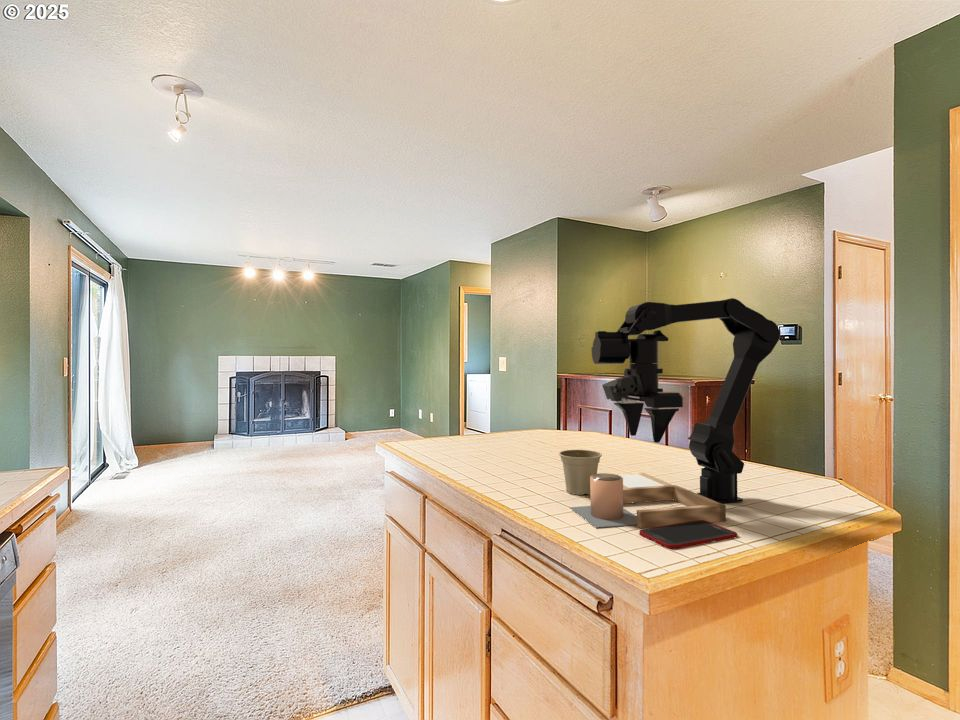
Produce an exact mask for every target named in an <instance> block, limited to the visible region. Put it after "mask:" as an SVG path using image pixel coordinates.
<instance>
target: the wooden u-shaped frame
mask: <svg viewBox="0 0 960 720" xmlns="http://www.w3.org/2000/svg"><path fill="white" fill-rule="evenodd" d="M673 499H674V500H673ZM657 500H666V501H675V500H676V502H677V501H678V503H679V502H680V503H679V504H681V503H682V504H681V505H684V506H675V507H672V506H671V507H663V508H661V507H660V508H650V509H649V508H648V509H637V510H636V516H637V525H636V527H637V528H639V529H648V528H654V527H660V526H667V525H673V524H679V523H685V522H691V521H697V520H705V521H708V522H711V523H718V522H726V521H727V509H726V508H727V507H726V505H725V504H724V503H718V502H716V501H713V500H711V499H709V498H706V497H704V496H701V495H699V494H697V492H694V491H692V490H689V489H686V488H685V487H682V486H679V485H677V484H672V485H665V486H650V487H635V488H623V503H625V504H633V503H632V502H638V503H645V502H644V501H652V502H658V501H657Z"/></svg>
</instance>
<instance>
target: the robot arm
mask: <svg viewBox="0 0 960 720" xmlns="http://www.w3.org/2000/svg"><path fill="white" fill-rule="evenodd" d="M624 316H625V317H624V321H623V323H622V324H621V325H620V327H619V328H618V329H617V330H616V331H606V330H597V331H595V333H594V338H593V341H592V347H591V358H592V362H593V363H594V364H595V365H622V364H624V363H625V362H626V360H628V362H629V363H628V365H629V368H625V369H624V371H623V374H624V375H623V376H621V377H618V378H615V379H612V380H610V381H608V382H605V383H603V384H602V388H603V392H604V394H605V398H606V399H607V400H610V401H611V402H613V405H614V406H616V407H618V408H619V409H620V410H621V411H622V413H623V416H624V420H625V422H626V425H627V428H628V432H629V435H630V436H632V437H633V436H636V435H637V432H638V429H639V425H640V421H641V419H642V418H641V416H642V413H643V409H644V410H645V412H646V413H647V414H648V415H649V417H650V421H651V431H652V439H653V442H654V443H660V442H661V440H662V439H663V436H664V434H665V433H666V430H667V429H668V426H669V424H670V422H672V419H673V417H674V416H675V414H676V413H677V412H679V411H680V408H683V407H684V397H683V396H682V394H680V392H676V391H664V389H663V388H662V387H661V388H660V387H659V374H660V375H661V374H663V371H664V370H663V368H659V343H662V342H668V341H669V338H668V337H667V336H666V335H665V334H663V333H662V330H660V328H664V327H666V326H668V325H669V326H670V325H673V324H676V323H687V322H695V321H705V320H714V319H719V320H720V321H721V322H722V323H723V325H724V327H725V328H726V330H727V331H728V332H729V333H730V334H731V335H732V336H734V338H733V342H732V348H733V349H732V350H733V358H732V362H731V364H730V366H729V369H728V372H727V374H726V377H725V379H724V381H723V384H722V386H721V388H720V391H719V393H718V396H717V398H716V399H715V403H714V406H713V408H712V410H711V412H710V414H709V417H708V418H707V419H706V420H704V422H703V423H702V422H698V421H696V422H695V424H694V425H693V428H692V429H693V430H692V433H691V434H690V435H689V436H688V438H687V440H690V441H689V444H688V449H689V451H690V453H691V455H692V456H693V457H694V458H695V460H696V463H697V465H698V466H699V467H702V468H700V469H701V472H700V474H701V475H700V476H699V492H696V494H699V495H701V496H704V497H706V498H709V499H711V500H713V501H716V502H718V503H721V504H725V503H727V504H728V503H738V502H743V501H744V499H743V497H739V496H738V474H742V472H743V470H744V467H745V463H744V461H743V460H741V459H740V458H739V456H737V455H736V454H735V453H734V451H733V450H734V445H735V441H736V440H735V432H734V426H735V423H736V420H737V418H738V416H739V413H740V410H741V409H742V405H743V403H744V401H745V398H746V396H747V394H748V391H749V388H750V386H751V385H752V384H751V383H752V382H753V380H754V376H755V375H756V372H757V370H758V367H759V365H760V364H761V362H763V361H764V360H765V359H766V358H767V357H768V356H769V355H770V354H771V353H772V351H774V348H776V346H777V344H778V342H779V341H780V339H781V330H780V328H779V326H778V325H777V324H776V322H775V321H773V320H770V319H768V318H767V317H765V316H764V315H763V314H762V313H760V312H758V311H756V310H754V309H752V308H750V307H748V306H746V305H745V303H743V302H742V301H740V300H739V299H737V298H734V297H731V298H726V299H721V300H712V301H703V302H701V301H700V302H692V303H691V302H690V303H685V304H683V303H682V304H669V303H665V302H656V301H655V302H653V301H646V302H642V303H639V304H635V305H632V306H630V307H629V308H628V309H627V311H626V313H625V315H624ZM658 329H659V330H658ZM651 330H654V331H653V332H652V333H643V332H646V331H651ZM632 336H637V337H636V338H629V337H632ZM644 406H646V407H644Z"/></svg>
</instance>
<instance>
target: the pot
mask: <svg viewBox="0 0 960 720" xmlns="http://www.w3.org/2000/svg"><path fill="white" fill-rule="evenodd" d="M621 476H622V475H619V474H615V473H609V472H608V473H606V472H604V473H603V472H602V473H601V472H600V473H597V474H594V475H592V476H590V495H589V496H590V506H591V515H592V516H593V517H596V518H599V519H605V520H616V519H620V518H622V517H623V516H624V512H623V508H624V504H623V477H621Z"/></svg>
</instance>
